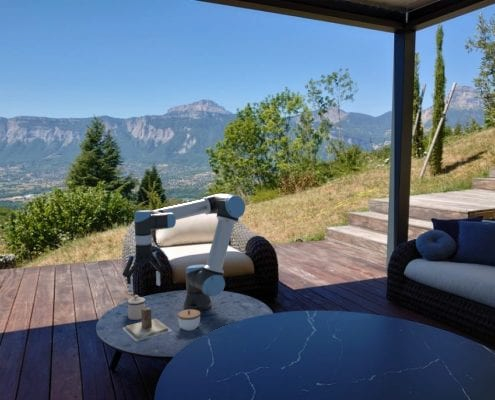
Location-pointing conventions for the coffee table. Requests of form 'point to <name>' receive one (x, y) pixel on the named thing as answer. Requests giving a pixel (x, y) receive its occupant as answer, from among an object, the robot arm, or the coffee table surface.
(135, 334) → the board
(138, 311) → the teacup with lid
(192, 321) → the lidded jar
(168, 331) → the mat
